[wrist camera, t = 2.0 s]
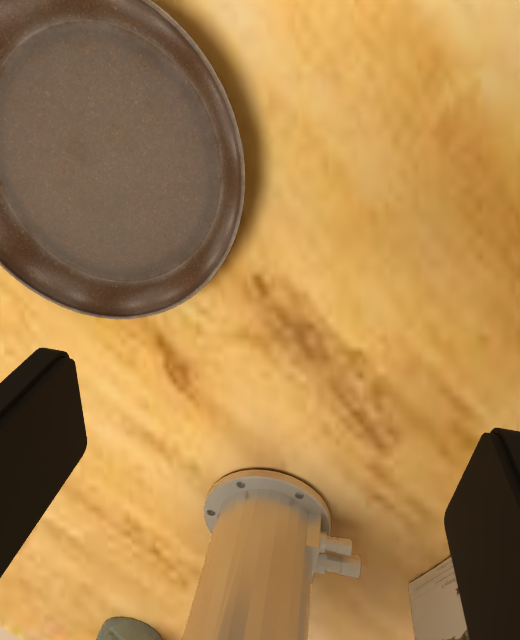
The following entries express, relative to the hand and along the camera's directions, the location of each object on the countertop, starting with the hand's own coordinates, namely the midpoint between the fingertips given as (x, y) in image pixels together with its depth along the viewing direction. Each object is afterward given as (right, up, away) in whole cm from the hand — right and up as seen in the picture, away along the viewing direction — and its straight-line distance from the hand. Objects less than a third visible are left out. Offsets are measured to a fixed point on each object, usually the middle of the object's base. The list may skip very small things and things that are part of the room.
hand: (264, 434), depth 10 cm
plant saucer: (-11, +13, +20) cm, 27 cm away
